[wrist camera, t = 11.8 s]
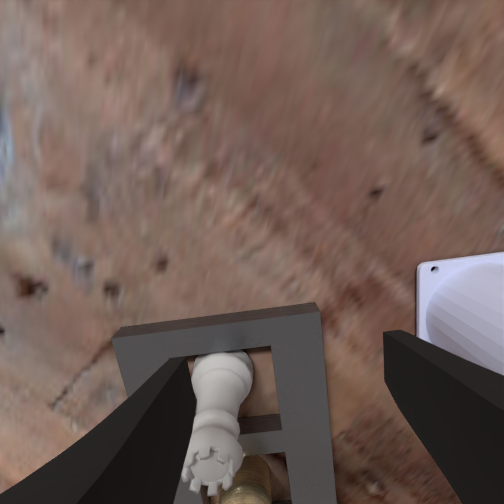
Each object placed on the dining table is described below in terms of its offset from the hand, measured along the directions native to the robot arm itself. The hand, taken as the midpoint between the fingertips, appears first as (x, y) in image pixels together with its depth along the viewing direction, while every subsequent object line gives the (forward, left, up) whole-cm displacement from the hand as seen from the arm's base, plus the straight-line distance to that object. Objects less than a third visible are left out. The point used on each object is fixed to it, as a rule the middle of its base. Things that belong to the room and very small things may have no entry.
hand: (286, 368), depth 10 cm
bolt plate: (+4, +12, -9) cm, 16 cm away
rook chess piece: (+4, +6, -10) cm, 12 cm away
